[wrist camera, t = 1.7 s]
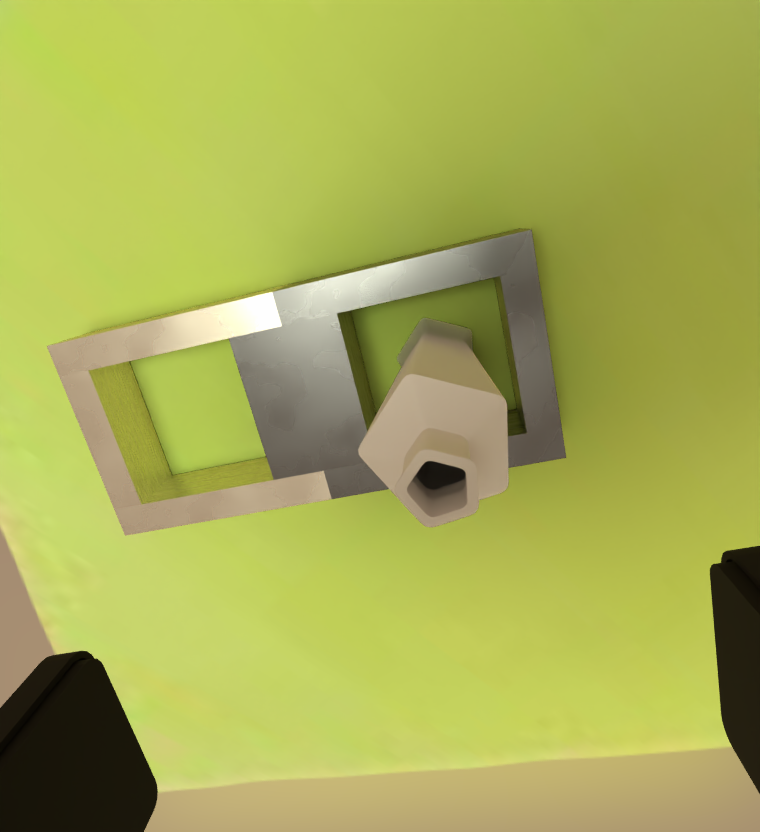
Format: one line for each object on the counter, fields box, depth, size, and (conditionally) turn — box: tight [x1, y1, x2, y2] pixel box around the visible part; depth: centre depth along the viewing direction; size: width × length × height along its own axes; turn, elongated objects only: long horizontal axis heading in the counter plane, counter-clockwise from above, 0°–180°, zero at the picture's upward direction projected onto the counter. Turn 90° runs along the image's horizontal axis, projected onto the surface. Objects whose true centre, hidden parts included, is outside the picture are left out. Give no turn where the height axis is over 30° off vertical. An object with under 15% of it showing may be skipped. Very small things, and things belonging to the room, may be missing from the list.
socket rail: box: [47, 228, 566, 535], centre depth 28 cm, size 22×10×4 cm, turn 103°
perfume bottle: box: [358, 318, 509, 527], centre depth 22 cm, size 5×4×15 cm
